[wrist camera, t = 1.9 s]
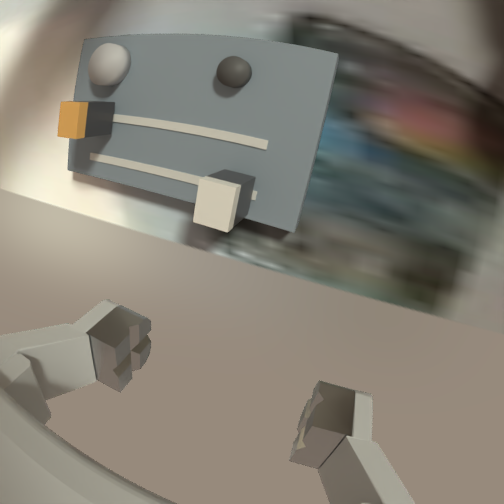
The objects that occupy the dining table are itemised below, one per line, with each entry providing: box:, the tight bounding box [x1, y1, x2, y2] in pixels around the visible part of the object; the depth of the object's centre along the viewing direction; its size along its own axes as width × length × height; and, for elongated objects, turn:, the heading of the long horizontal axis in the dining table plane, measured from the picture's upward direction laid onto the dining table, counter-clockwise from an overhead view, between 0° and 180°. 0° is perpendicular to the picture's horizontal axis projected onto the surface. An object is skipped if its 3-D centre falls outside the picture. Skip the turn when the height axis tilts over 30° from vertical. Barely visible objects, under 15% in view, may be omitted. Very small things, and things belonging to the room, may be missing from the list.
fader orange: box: [58, 101, 115, 139], centre depth 23 cm, size 2×3×4 cm
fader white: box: [193, 169, 256, 232], centre depth 22 cm, size 2×3×4 cm
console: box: [68, 34, 339, 233], centre depth 24 cm, size 24×14×4 cm, turn 78°
